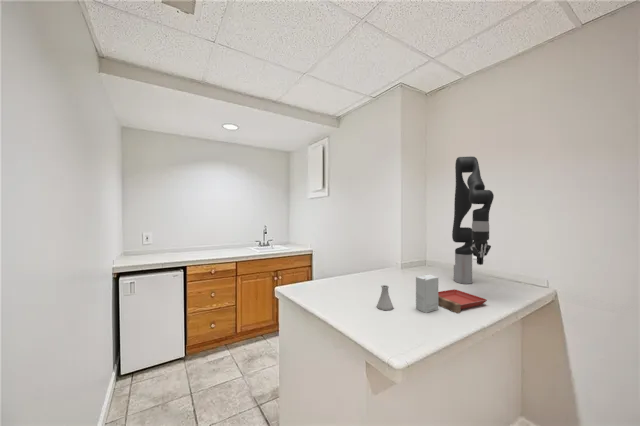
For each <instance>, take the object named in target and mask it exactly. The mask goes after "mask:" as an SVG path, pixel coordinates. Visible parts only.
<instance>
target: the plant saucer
mask: <svg viewBox="0 0 640 426" xmlns="http://www.w3.org/2000/svg"><path fill="white" fill-rule="evenodd" d="M438 296H441V297H443V298H446V299H448V300H451V301H454V302H456V303H459V304H461V310H464V309H469V308H470V309H471V308H473V307H478V306H482V305H483V304H485V303H486V302H487V301H488V299H486V298H484V297H480V296H477V295H474V294H471V293H467V292H465V291H461V290H458V289H455V288H453V289H447V290H441V291H440V290H439V291H438Z"/></svg>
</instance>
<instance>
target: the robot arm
mask: <svg viewBox="0 0 640 426" xmlns="http://www.w3.org/2000/svg"><path fill="white" fill-rule="evenodd" d="M479 165H480V164H479V161H478V159H477V157H475V156H458V157H457V158H456V160H455V188H454V189H455V190H454V208H453V209H454V211H453V213H454V215H453V216H454V217H453V222H452V223H453V224H452V232H451V236H452V241H453V242H454V243H457V244H459V243H463V245H462V246H458V247H457V248H455V250H454V264H453V281H455V282H456V283H459V284H466V285H471V284H473V256H474V257H476V264H477V265H480V266H481V265H484V258H485V256H486V257H487V255H488V254H489V252H490V251H491V247H492V246H491V245H489V242H488V241H489V240H490V217H489V216H490V210H491V206H492V204H493V202H494V196H495V195H494V193H493V191H492V190H491V189H490V190H489V189H486V186H485V183H484V181H483V179H482V176H481V170H480V166H479ZM464 173H466V174H468V173H470V175H469V176H468V178H467V180H466V181H467V182H466V183H467V184H466V183H465V180H464V177H463V174H464ZM473 205H483V206H482V207H480V208H476V209H473V210H472V223H471V227H466V226H465V227H462V226H461V225H462V222H463V220H464V218H465V216H466V215H467V214H468V213H469V211H470V210H471V208H472V206H473Z"/></svg>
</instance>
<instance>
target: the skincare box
mask: <svg viewBox="0 0 640 426" xmlns="http://www.w3.org/2000/svg"><path fill="white" fill-rule="evenodd" d="M438 292H439V277H438V276H435V275H432V274H425V275H419V276H415V309H416V310H418V311H421V312H423V313H425V314H426V313H427V314H428V313H430V312H433V311H434V312H435V311H438V310H439V305H438Z"/></svg>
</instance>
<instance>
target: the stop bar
mask: <svg viewBox="0 0 640 426" xmlns="http://www.w3.org/2000/svg"><path fill="white" fill-rule="evenodd" d="M438 307H441V308H443V309H446V310H448V311H451V312H453V313H456V314H457V313H461V312H462V311H461V310H462V309H461V304H459V303H456V302H454V301H451V300H448V299H446V298H443V297H441V296H438Z"/></svg>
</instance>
